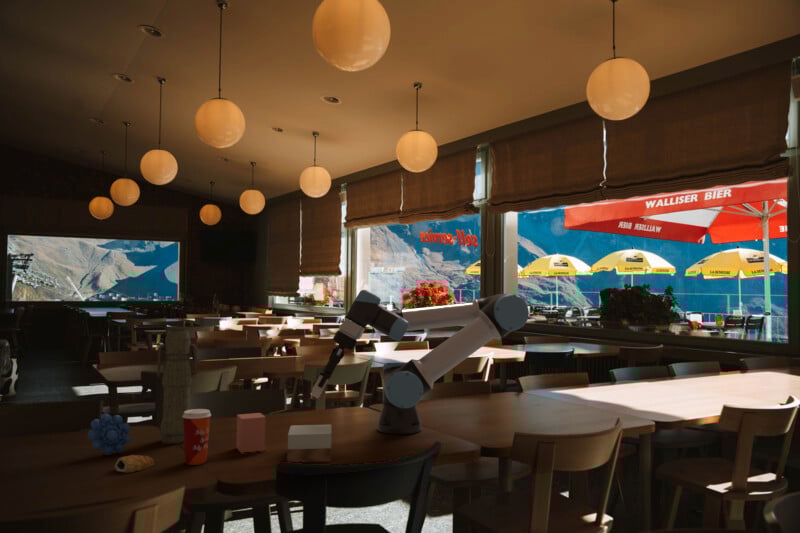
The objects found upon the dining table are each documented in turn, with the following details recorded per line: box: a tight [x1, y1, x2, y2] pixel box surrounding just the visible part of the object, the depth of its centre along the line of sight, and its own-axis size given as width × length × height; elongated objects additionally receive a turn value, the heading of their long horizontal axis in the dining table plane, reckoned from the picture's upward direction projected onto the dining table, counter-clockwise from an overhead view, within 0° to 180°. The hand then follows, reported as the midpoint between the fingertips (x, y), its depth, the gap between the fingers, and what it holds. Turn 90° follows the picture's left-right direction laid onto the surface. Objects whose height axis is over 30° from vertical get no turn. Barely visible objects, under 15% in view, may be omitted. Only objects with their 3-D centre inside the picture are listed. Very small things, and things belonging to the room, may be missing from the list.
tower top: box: [287, 424, 332, 449], centre depth 176 cm, size 12×12×4 cm
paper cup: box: [182, 408, 212, 466], centre depth 169 cm, size 8×8×14 cm
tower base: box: [286, 447, 332, 463], centre depth 176 cm, size 12×12×4 cm
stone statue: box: [157, 328, 199, 445], centre depth 194 cm, size 9×12×35 cm
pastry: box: [114, 454, 155, 474], centre depth 163 cm, size 9×7×4 cm
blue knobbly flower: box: [87, 412, 132, 456], centre depth 175 cm, size 12×7×12 cm, turn 128°
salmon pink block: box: [236, 412, 267, 454], centre depth 183 cm, size 7×7×10 cm
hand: (314, 393), depth 194 cm, fingers open, 13 cm apart
